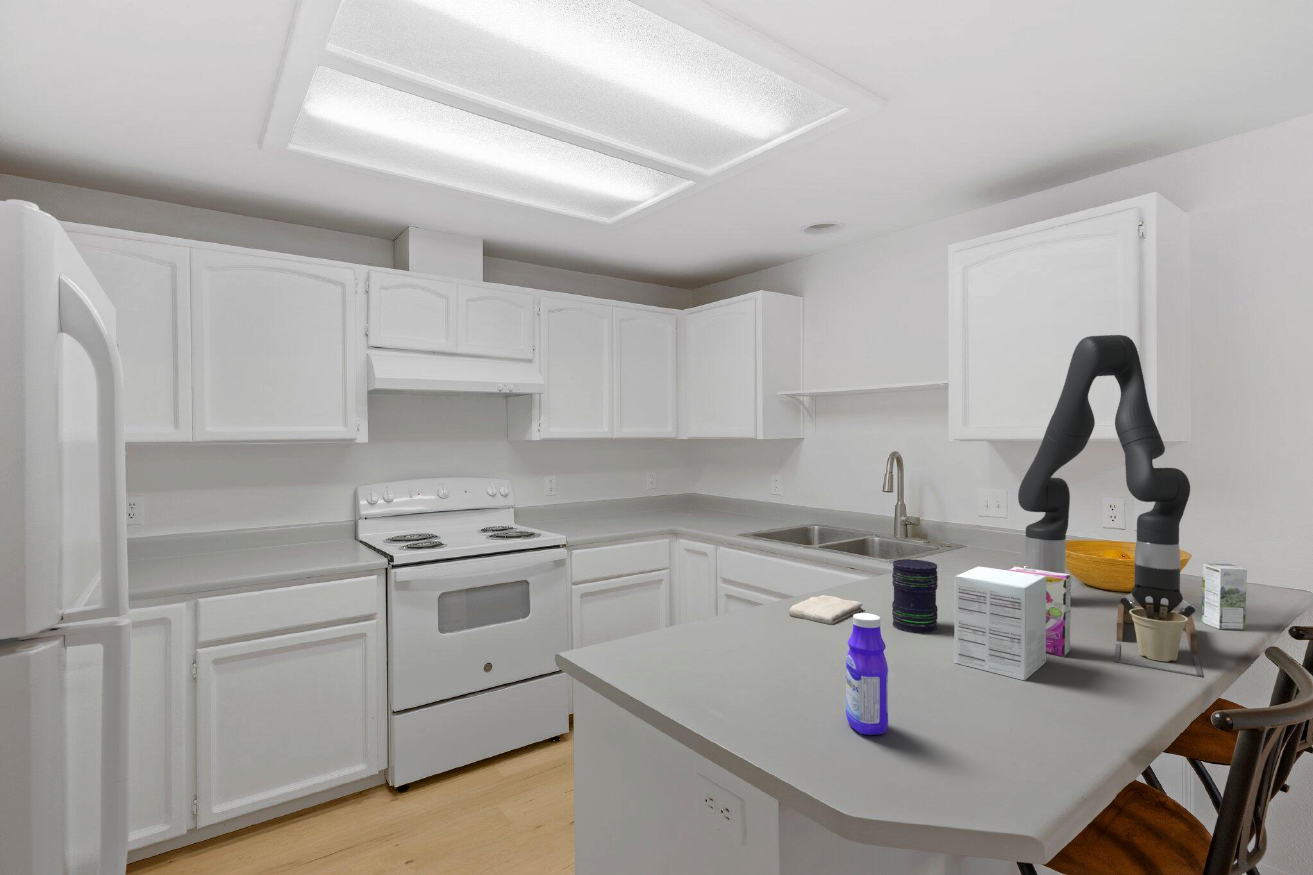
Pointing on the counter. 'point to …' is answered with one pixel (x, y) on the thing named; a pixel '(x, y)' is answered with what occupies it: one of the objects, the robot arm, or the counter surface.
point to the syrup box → (1224, 596)
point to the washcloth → (825, 609)
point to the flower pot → (1158, 634)
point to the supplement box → (1000, 621)
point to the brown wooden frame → (1189, 625)
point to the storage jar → (914, 596)
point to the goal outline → (1196, 661)
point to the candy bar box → (1055, 609)
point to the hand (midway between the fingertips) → (1155, 645)
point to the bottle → (867, 677)
